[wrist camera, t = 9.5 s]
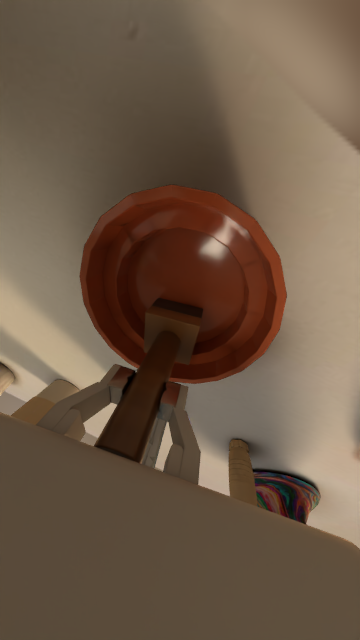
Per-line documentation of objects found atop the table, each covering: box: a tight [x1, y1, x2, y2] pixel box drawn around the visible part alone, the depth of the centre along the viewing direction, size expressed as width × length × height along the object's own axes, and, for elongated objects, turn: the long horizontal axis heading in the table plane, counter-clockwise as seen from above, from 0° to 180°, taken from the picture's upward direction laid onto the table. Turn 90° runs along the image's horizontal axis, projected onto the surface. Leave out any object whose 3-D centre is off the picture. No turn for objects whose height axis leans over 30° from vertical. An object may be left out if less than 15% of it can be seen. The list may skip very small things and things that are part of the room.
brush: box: [94, 298, 203, 464], centre depth 12 cm, size 5×5×12 cm
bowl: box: [80, 185, 287, 384], centre depth 15 cm, size 16×16×5 cm
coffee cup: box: [11, 380, 80, 425], centre depth 27 cm, size 9×9×15 cm
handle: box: [229, 439, 258, 507], centre depth 23 cm, size 5×6×15 cm
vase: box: [253, 472, 320, 525], centre depth 22 cm, size 18×18×30 cm
